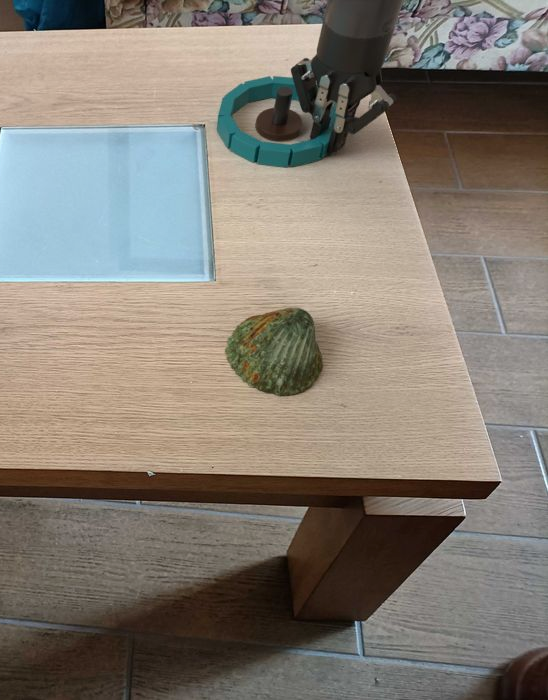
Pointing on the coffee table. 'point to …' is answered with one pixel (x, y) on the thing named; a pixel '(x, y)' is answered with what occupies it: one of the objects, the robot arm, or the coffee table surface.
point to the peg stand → (279, 118)
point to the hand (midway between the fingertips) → (325, 147)
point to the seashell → (276, 351)
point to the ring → (258, 149)
